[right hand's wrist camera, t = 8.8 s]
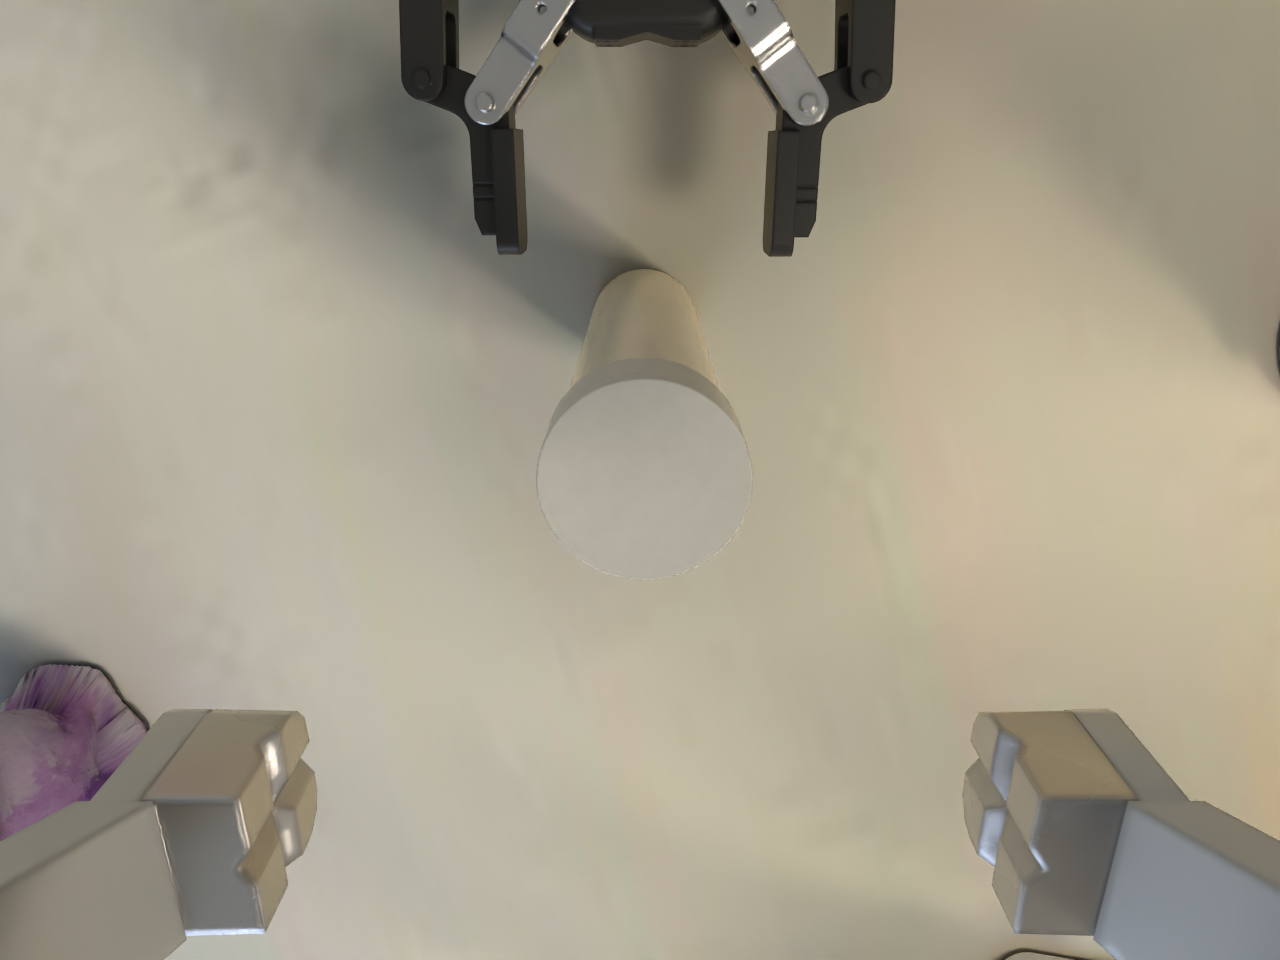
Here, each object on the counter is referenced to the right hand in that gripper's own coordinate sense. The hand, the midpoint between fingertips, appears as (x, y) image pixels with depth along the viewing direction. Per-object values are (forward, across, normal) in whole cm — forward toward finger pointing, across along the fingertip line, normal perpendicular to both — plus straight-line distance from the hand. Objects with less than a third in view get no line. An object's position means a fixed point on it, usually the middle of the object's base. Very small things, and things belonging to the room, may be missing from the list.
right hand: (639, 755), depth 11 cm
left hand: (+21, 0, +3) cm, 21 cm away
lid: (+9, 0, 0) cm, 9 cm away
